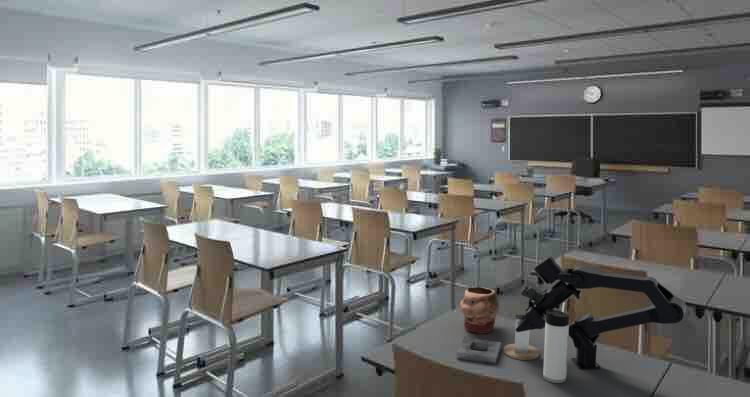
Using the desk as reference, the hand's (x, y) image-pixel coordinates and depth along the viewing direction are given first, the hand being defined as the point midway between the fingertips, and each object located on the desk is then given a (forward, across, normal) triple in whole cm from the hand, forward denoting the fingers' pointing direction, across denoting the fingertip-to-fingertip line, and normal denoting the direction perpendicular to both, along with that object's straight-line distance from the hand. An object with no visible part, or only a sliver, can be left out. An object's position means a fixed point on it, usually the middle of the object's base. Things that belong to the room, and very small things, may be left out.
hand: (517, 325), depth 171 cm
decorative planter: (+16, -17, -4) cm, 24 cm away
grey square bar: (+5, 0, +7) cm, 8 cm away
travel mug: (-2, +15, +15) cm, 21 cm away
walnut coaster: (+5, 0, +7) cm, 9 cm away
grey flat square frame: (+14, +5, -2) cm, 15 cm away
